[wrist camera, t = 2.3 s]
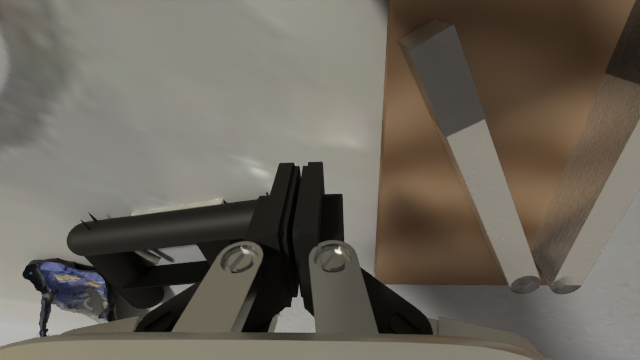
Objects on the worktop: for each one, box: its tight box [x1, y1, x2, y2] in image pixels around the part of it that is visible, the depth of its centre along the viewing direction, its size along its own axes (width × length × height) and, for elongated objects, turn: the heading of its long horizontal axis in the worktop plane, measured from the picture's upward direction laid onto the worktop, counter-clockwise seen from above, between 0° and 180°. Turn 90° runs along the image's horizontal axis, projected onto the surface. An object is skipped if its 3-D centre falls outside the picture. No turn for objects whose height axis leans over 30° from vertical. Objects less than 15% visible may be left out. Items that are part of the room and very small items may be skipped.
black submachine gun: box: [67, 192, 270, 309], centre depth 29 cm, size 3×20×16 cm
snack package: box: [23, 258, 118, 338], centre depth 31 cm, size 12×6×12 cm
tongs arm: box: [398, 18, 541, 294], centre depth 19 cm, size 20×2×3 cm, turn 31°
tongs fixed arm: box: [530, 0, 640, 294], centre depth 18 cm, size 20×2×3 cm, turn 3°
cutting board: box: [374, 0, 635, 285], centre depth 21 cm, size 25×15×2 cm, turn 3°
